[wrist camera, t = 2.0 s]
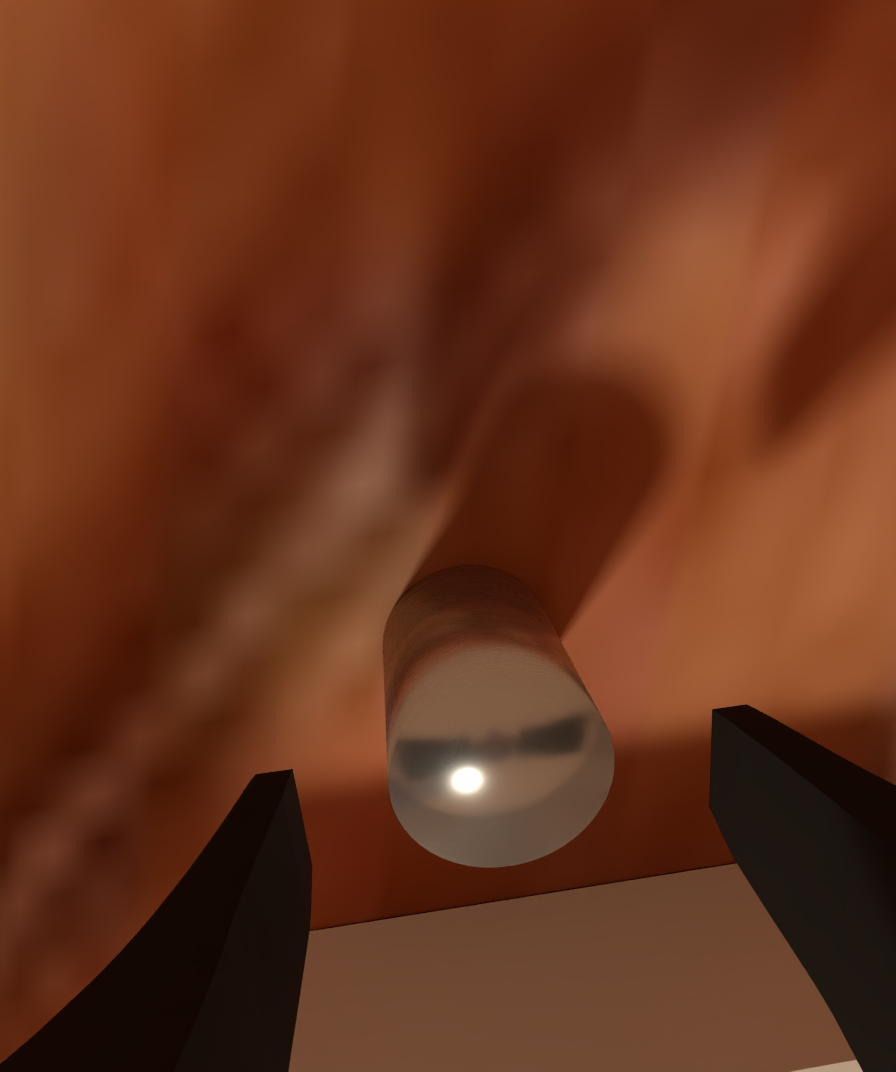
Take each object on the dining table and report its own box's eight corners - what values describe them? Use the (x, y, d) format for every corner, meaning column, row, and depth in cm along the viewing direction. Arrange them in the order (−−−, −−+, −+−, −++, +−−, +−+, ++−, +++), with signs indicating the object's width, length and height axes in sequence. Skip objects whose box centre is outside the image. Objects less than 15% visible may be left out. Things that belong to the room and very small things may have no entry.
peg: (393, 726, 18) (402, 883, 13) (372, 577, 17) (374, 692, 12) (552, 703, 18) (616, 849, 13) (544, 554, 17) (612, 659, 12)
